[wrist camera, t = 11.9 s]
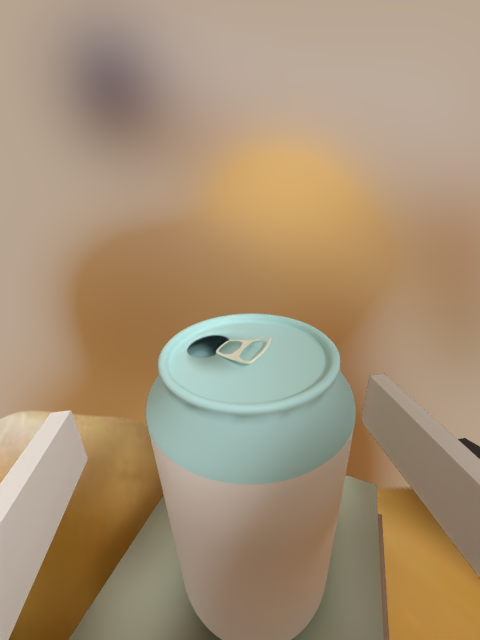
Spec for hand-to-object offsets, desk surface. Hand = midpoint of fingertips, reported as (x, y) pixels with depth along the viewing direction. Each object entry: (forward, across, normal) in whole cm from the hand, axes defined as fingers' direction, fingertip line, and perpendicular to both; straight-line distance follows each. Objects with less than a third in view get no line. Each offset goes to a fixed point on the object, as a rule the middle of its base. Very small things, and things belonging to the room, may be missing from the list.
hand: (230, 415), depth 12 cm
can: (-1, +1, -8) cm, 8 cm away
